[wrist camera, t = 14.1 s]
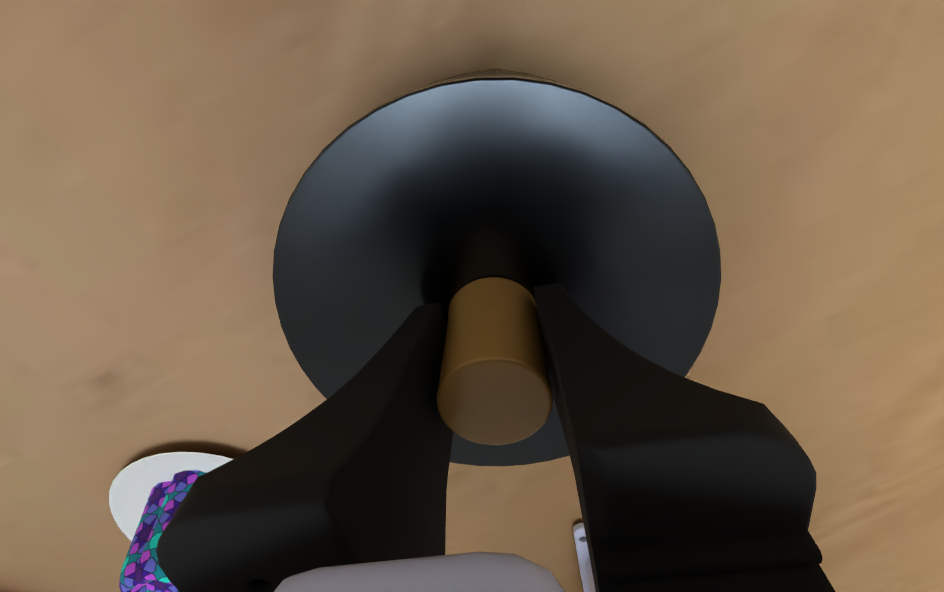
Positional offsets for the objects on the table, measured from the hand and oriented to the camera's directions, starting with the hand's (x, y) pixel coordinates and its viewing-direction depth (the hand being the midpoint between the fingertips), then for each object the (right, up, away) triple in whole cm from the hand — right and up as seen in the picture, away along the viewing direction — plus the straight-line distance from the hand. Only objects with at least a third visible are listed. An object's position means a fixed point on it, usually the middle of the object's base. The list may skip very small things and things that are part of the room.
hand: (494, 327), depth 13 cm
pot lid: (0, 0, +1) cm, 1 cm away
